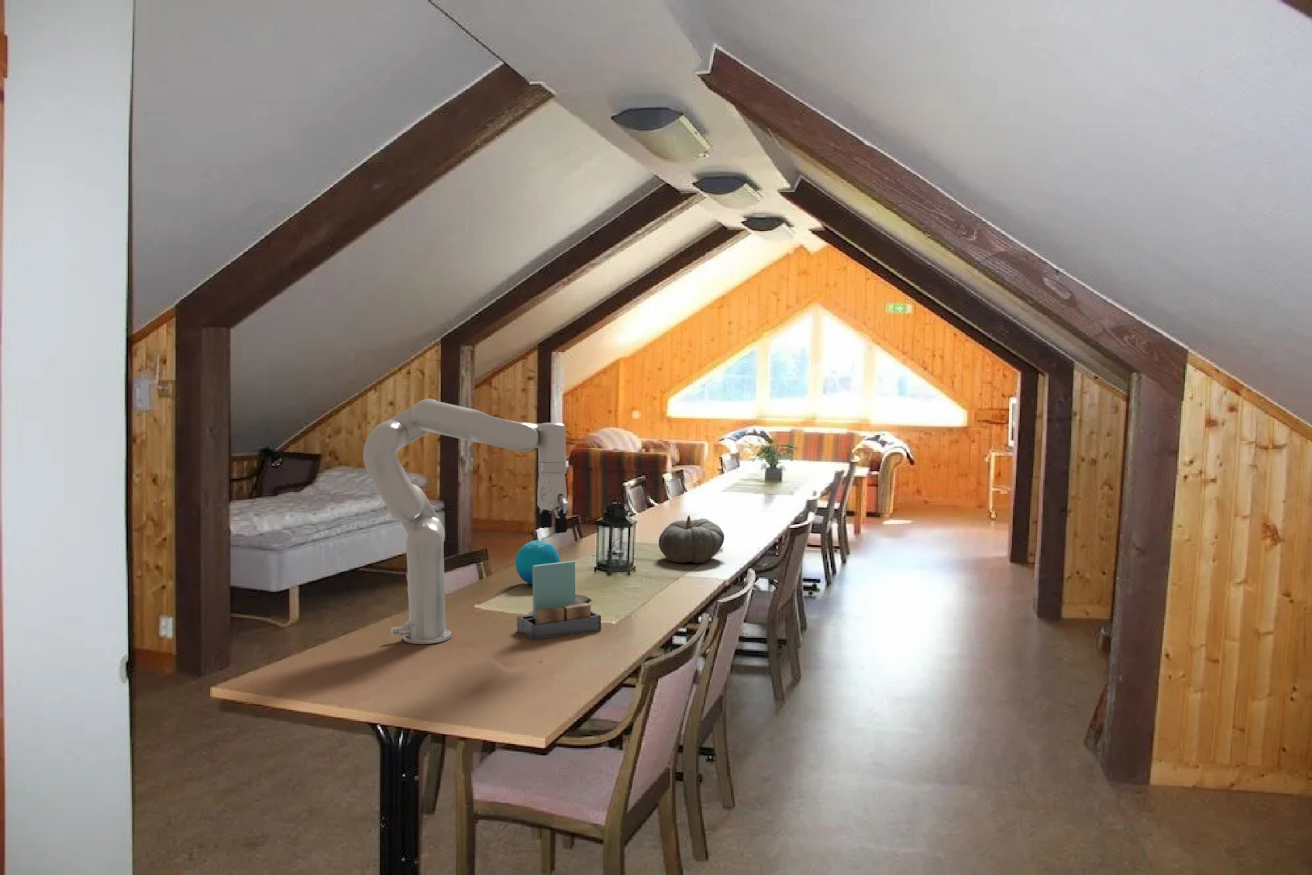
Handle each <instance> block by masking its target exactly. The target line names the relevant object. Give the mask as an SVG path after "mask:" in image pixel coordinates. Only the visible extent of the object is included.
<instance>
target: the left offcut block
mask: <svg viewBox="0 0 1312 875" xmlns="http://www.w3.org/2000/svg"><path fill="white" fill-rule="evenodd" d="M563 620H564V609H563V608H561V607H553V608H546V609H539V610H535V625H537V624H543V623H550V622H557V621H563Z"/></svg>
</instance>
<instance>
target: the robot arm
mask: <svg viewBox="0 0 1312 875" xmlns="http://www.w3.org/2000/svg"><path fill="white" fill-rule="evenodd" d="M428 433H432V434H437V435H442V436H448V437H452V438H456V439H459V440H463V441H464V440H465V441H469V442H473V443H479V444H485V445H489V446H493V447H495V448H496V447H497V448H501V449H506V450H511V451H514V452H515V451H516V452H521V453H526V452H529V451H532V450H534V449H535V448H536V449H537V452H538V453H537V454H538V461H537V462H538V463H537V464H538V478H537V479H538V480H537V494H536V495H537V499H536V501H537V507H538V508H539V515H540V518H539V520H540V529H548V528H549V529H550V528H552V526H553V522H552V520H553V517H552V516H553V515H552V511H554V514H555V518H554V533H556V534H564V533H567V532H568V527H567V526H568V525H567V524H568V522H567V521H568V520H567V519H568V512H569V510H568V509H569V502H568V495H567V494H568V493H567V492H568V490H567V482H566V481H567V480H566V474H567V445H566V442H567V441H566V440H567V438H566V437H567V436H566V433H567V432H566V426H565V424H563V423H562V422H543V423H534V422H525V421H524V422H523V421H522V422H518V421H513V420H509V419H503V418H500V417H495V416H492V415H490V414H487V413H485V412H483V411H481V410H477V409H475V408H470V407H469V408H468V407H465V406H459V405H456V404H451V403H446V402H443V401H438V400H436V399H433V398H425V399H422V400H419V401H418V402H416V404H414V405H412V406H411V407H408V409H406V410H404V411H402V412H400V413H398V414H397V415H395V416H393V417H391V418H389V419H388V420H385V421H382V422H380V423H379V424H377V425H376V426H375V427H374V428H373V430H372V431H371V432H370V433H369V435H368V437H367V438H366V440H365V443H364V446H363V450H362V451H363V453H362V455H363V457H362V459H363V463H364V466H365V469H366V471H367V474H368V475H369V478H370V479H371V481H372V483H373V484H374V486H375V488H376V491H377V493H378V494H379V495H380V497H381V499H382V501H383V503H384V505H385V507H386V508H387V511H388V512H389V514H390V515H391V517H393V519H395V520H396V521H398V522H400V523H401V525H402V527H403V529H404V530H405V532H406V533H407V535H406V541H405V548H406V550H405V551H406V563H407V564H406V566H407V588H408V589H407V591H408V592H407V593H408V596H407V597H408V621H405V624H403V625H402V626H395V627H390V633H391V635H392V636H395V635H398V636H402V637H403V641H404V642H406V643H409V644H413V645H430V644H437V643H441V642H445V641H448V640H449V639H451V638H452V631H451V630H449V629H447V628H446V602H445V600H446V597H445V596H446V591H445V556H444V555H445V554H444V548H445V547H444V544H445V543H444V540H445V537H446V531H445V527H444V524H443V523H442V521H441V520H440V518H439V516H438V514H437V512H436V511H435V508H434V507H433V506H432V504H431V502H430V501H429V499H428V497H427V495H426V493H425V492H424V491H423V490H422V489H421V487H419V486H418V485H416V484H414V483H412V481H411V480H410V478H409V476H408V475H407V473H406V471H405V469H404V467H403V466H402V464H401V463H400V461H399V458H398V452H399V450H401V449H403V448H404V447H406V446H408V445H409V444H411V443H412V442H414V441H416V440H418V439H420V438H421V437H424V436H425V435H426V434H428Z"/></svg>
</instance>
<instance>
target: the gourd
mask: <svg viewBox="0 0 1312 875" xmlns="http://www.w3.org/2000/svg"><path fill="white" fill-rule="evenodd" d="M724 541H725V534H724V532H723V530H722V528H721V526H719V525H718V524H717V523H714V522H712V521H711V520H709V519H707V518H704V517H703V518H699V519H691V517H690V515H687V518H686V520H683V519H681V520H675V521H673V522H671V523H670V524H669V525H668V526H666V527H665V528H664V530H662V532H661V533H660V536H659V537H658V546H659V550H660V551H661V553H662V554H663V556H664V557H665V558H666V559H667V560H669V561H670V562H674V563H680V564H687V563H689V562H692V563H694V564H702V563H706V562H707V561H709V560H710V559H712V558H713V557H714V556H715V555H716V554H717V553H718V552H720V550H721V548H722V547H723V544H724Z"/></svg>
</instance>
